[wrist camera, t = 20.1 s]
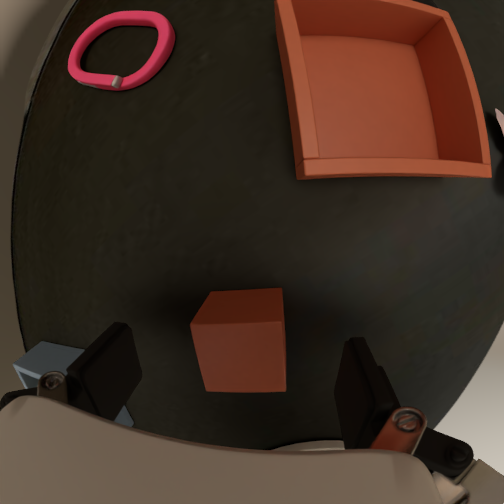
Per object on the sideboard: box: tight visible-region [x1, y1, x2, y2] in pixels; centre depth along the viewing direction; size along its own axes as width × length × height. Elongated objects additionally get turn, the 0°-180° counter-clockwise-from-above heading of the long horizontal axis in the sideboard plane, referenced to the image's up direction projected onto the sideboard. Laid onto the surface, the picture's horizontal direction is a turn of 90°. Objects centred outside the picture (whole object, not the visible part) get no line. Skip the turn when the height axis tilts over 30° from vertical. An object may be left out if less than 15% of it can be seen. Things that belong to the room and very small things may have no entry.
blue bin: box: [13, 341, 134, 427], centre depth 17 cm, size 8×8×5 cm
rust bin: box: [274, 0, 492, 180], centre depth 10 cm, size 9×9×5 cm
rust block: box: [190, 287, 286, 392], centre depth 13 cm, size 4×4×4 cm
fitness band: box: [68, 11, 175, 91], centre depth 11 cm, size 8×6×2 cm
